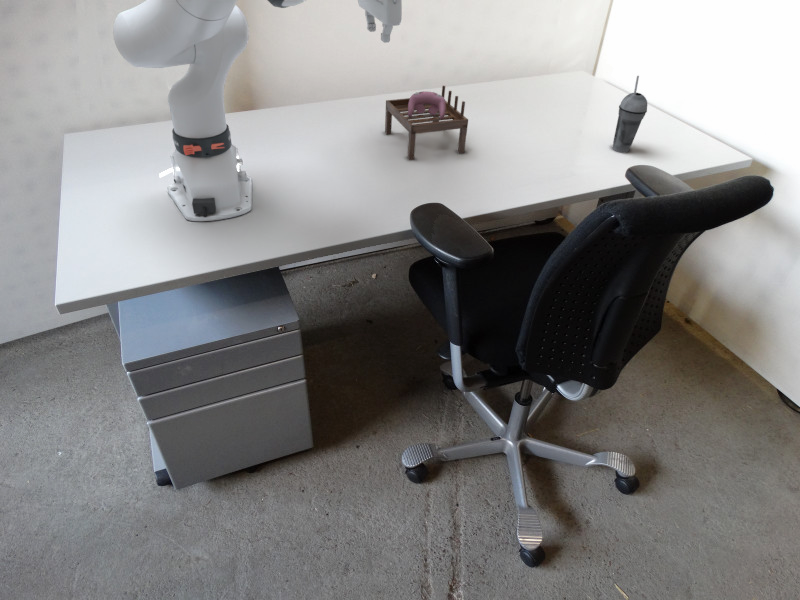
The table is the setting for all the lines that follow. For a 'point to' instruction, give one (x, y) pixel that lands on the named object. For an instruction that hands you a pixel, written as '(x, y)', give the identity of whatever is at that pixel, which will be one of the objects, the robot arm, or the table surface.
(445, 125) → the rack
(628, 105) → the beverage cup
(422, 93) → the video game controller
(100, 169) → the table surface
